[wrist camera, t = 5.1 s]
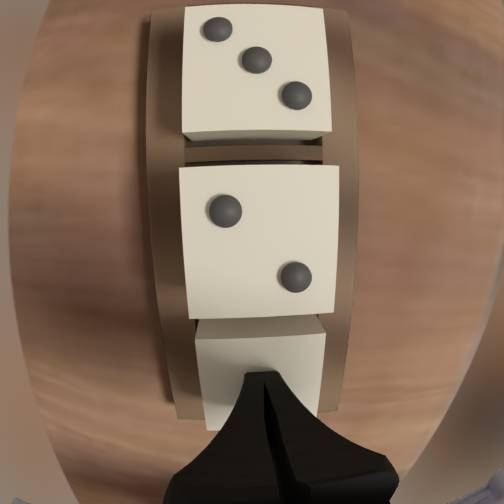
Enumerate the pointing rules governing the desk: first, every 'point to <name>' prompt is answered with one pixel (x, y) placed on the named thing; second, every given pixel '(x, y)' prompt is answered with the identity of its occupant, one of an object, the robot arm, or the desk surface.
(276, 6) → the tile three
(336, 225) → the tile two
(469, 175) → the desk surface
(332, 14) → the tile tray
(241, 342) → the tile one
